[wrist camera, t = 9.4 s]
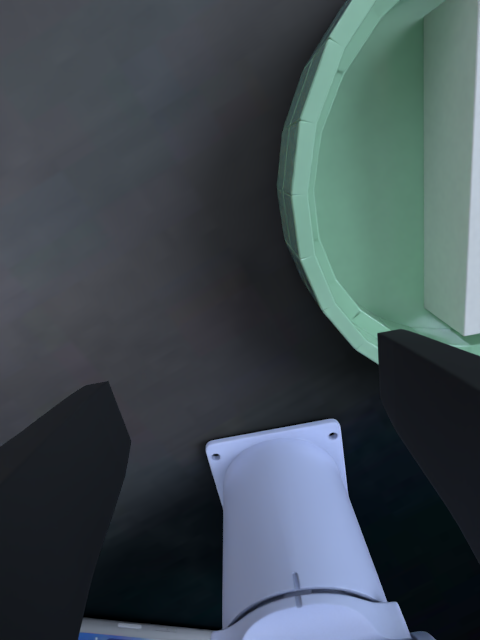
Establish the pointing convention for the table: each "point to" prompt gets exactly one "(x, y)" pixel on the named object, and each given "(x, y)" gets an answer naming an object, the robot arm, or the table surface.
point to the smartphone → (137, 631)
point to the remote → (452, 164)
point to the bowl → (362, 175)
